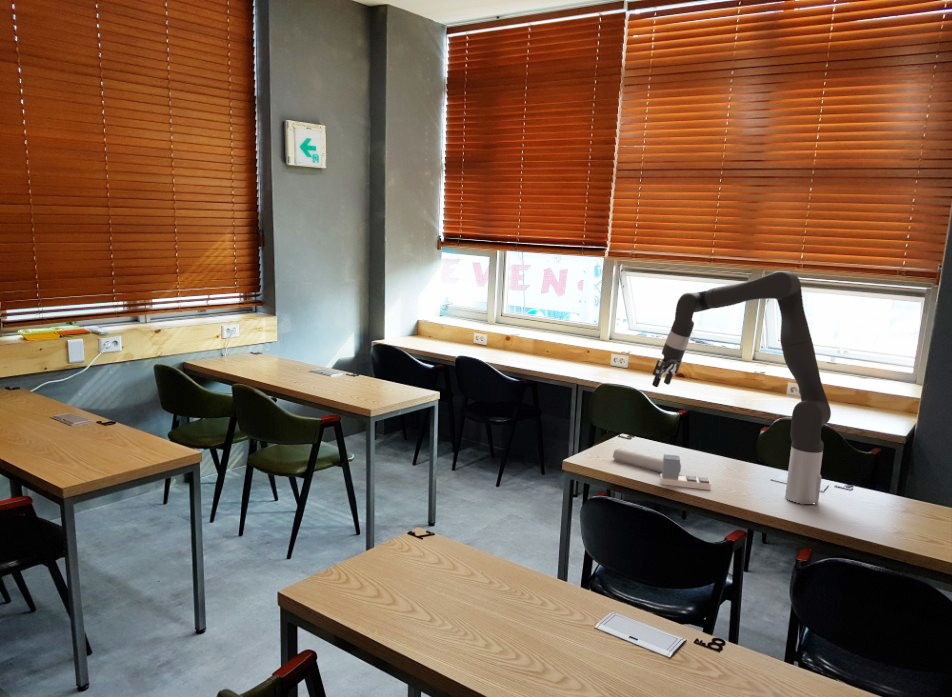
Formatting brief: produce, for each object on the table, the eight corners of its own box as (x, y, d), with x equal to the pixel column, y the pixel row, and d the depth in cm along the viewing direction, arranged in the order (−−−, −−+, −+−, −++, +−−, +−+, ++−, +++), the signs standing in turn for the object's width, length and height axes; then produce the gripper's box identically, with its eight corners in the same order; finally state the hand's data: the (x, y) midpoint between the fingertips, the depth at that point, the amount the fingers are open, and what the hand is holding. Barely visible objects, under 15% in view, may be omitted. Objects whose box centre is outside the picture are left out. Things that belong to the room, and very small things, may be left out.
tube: (609, 451, 261) (674, 466, 246) (616, 444, 265) (680, 459, 249) (611, 463, 263) (674, 479, 248) (618, 456, 267) (681, 472, 251)
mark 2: (707, 479, 240) (707, 477, 240) (709, 483, 236) (709, 481, 236) (698, 478, 241) (698, 476, 241) (699, 482, 237) (699, 480, 237)
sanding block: (677, 475, 243) (679, 455, 241) (678, 480, 238) (680, 460, 237) (661, 474, 243) (663, 454, 242) (662, 478, 239) (664, 458, 238)
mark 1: (695, 478, 241) (695, 476, 241) (696, 481, 237) (696, 480, 237) (686, 477, 241) (686, 475, 241) (687, 480, 238) (687, 479, 237)
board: (708, 484, 241) (709, 479, 240) (710, 489, 236) (710, 484, 236) (659, 479, 244) (660, 473, 244) (660, 484, 239) (661, 478, 239)
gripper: (674, 350, 250) (659, 391, 255) (694, 347, 260) (678, 387, 266) (657, 342, 255) (642, 382, 260) (676, 339, 265) (661, 378, 270)
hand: (660, 384), depth 263 cm, fingers open, 8 cm apart
